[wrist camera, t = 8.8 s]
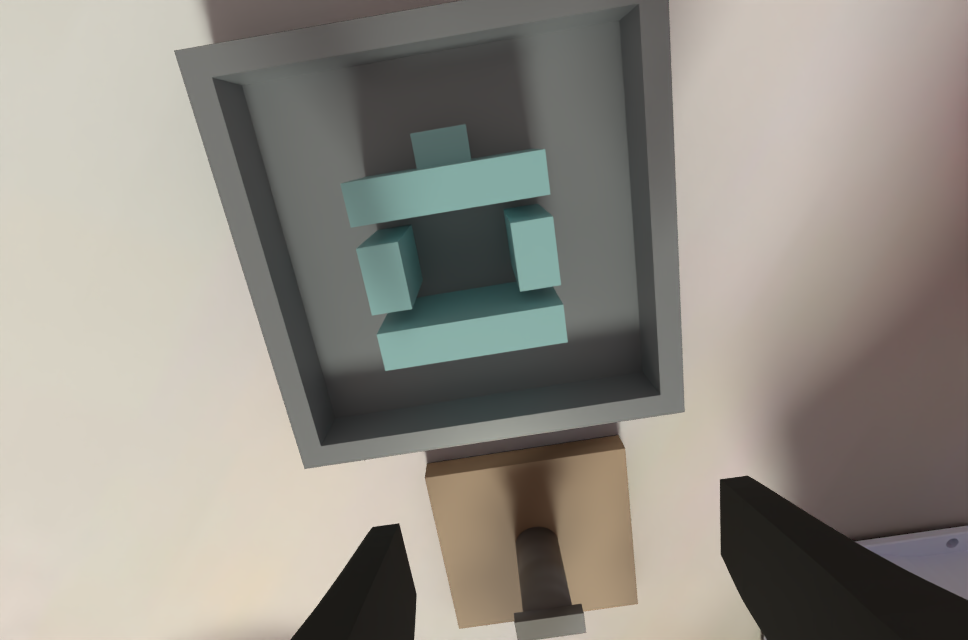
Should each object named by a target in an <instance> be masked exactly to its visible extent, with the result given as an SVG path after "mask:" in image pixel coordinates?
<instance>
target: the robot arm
mask: <svg viewBox="0 0 968 640" xmlns="http://www.w3.org/2000/svg"><path fill="white" fill-rule="evenodd" d="M720 524H721V556H722V558H723V560H724V562H725V564H726V566H727V569H728V571H729V573H730V575H731V577H732V579H733V582H734V584H735V586H736V588H737V590H738V592H739V594H740V596H741V598H742V600H743V602H744V603H745V605H746V607H747V608H748V610H749V612H750V613H751V615H752V616H753V618H754V620H755V621H756V623H757V625H758V626H759V628H760V629H761V631H762V633H763V634H764V640H968V526H961V527H954V528H947V529H940V530H933V531H926V532H919V533H911V534H904V535H897V536H890V537H883V538H876V539H869V540H862V541H853V540H851V539H849V538H848V537H846V536H844V535H843V534H841V533H839V532H838V531H836V530H834V529H833V528H831V527H829V526H828V525H826V524H824V523H823V522H821V521H820V520H818V519H816V518H815V517H813V516H811V515H810V514H808V513H807V512H805V511H803V510H802V509H800V508H799V507H797V506H796V505H794V504H792V503H791V502H789V501H788V500H786V499H785V498H783V497H781V496H780V495H778V494H777V493H775V492H774V491H772V490H770V489H769V488H767V487H766V486H764V485H762V484H761V483H759V482H758V481H756V480H754V479H753V478H751V477H749V476H742V477H735V478H727V479H720ZM415 615H416V590H415V586H414V582H413V578H412V574H411V570H410V566H409V562H408V558H407V554H406V550H405V545H404V541H403V537H402V533H401V529H400V525H399V524H392V525H384V526H377V527H372V529H371V530H370V531H369V532H368V534H367V535H366V537H365V538H364V540H363V541H362V543H361V544H360V546H359V547H358V549H357V550H356V552H355V553H354V554H353V556H352V557H351V559H350V560H349V562H348V563H347V565H346V566H345V568H344V569H343V571H342V572H341V573H340V575H339V576H338V578H337V579H336V581H335V582H334V583H333V585H332V586H331V587H330V589H329V590H328V592H327V593H326V594H325V596H324V597H323V598H322V600H321V601H320V603H319V604H318V605H317V607H316V608H315V609H314V611H313V612H312V613H311V615H310V616H309V617H308V618H307V620H306V621H305V622H304V623H303V625H302V626H301V627H300V628H299V630H298V631H297V632H296V633H295V635H294V636H293V637H292V638H291V640H414V632H415Z"/></svg>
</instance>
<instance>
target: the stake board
mask: <svg viewBox="0 0 968 640" xmlns="http://www.w3.org/2000/svg"><path fill="white" fill-rule="evenodd" d="M425 480H426V485H427V489H428V494H429V498H430V502H431V507H432V511H433V516H434V520H435V524H436V529H437V533H438V538H439V542H440V546H441V551H442V555H443V559H444V564H445V568H446V573H447V577H448V581H449V586H450V590H451V595H452V599H453V603H454V608H455V612H456V617H457V621H458V625H459V629H461V628H469V627H476V626H483V625H490V624H497V623H504V622H512V621H514V622H515V628H516V633H517V639H518V640H538V639H545V638H552V637H559V636H567V635H574V634H581V633H586V628H585V620H584V612H583V611H591V610H598V609H605V608H612V607H619V606H627V605H634V604H638V600H637V588H636V576H635V564H634V551H633V539H632V527H631V515H630V503H629V490H628V478H627V466H626V454H625V447H624V445H623V443H622V441H621V439H620V438H619V436H618V435H616V436H609V437H602V438H596V439H589V440H582V441H576V442H569V443H562V444H555V445H549V446H542V447H535V448H528V449H522V450H515V451H508V452H502V453H495V454H488V455H481V456H475V457H468V458H461V459H455V460H448V461H441V462H434V463H428V464H427V467H426V474H425Z"/></svg>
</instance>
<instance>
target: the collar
mask: <svg viewBox="0 0 968 640" xmlns="http://www.w3.org/2000/svg"><path fill="white" fill-rule="evenodd" d="M410 136H411V141H412V146H413V151H414V156H415V161H416V167H417V168H415V169H409V170H403V171H397V172H391V173H385V174H379V175H373V176H367V177H363V178H359V179H356V180H352V181H348V182H345V183H341V184H340V185H341V189H342V193H343V197H344V202H345V206H346V210H347V214H348V218H349V222H350V226H351V228H352V227H358V226H364V225H370V224H376V223H382V222H388V221H394V220H400V219H406V218H412V217H418V216H424V215H430V214H436V213H442V212H448V211H454V210H460V209H466V208H472V207H478V206H484V205H490V204H496V203H502V202H508V201H514V200H520V199H526V198H532V197H539V196H545V195H550V186H549V178H548V169H547V161H546V152H545V149H527V150H521V151H515V152H509V153H503V154H497V155H492V156H486V157H480V158H474V159H471V153H470V147H469V141H468V135H467V129H466V124H464V125H458V126H452V127H446V128H440V129H434V130H429V131H423V132H417V133H411V134H410ZM503 211H504V217H505V224H506V231H507V238H508V245H509V251H510V258H511V265H512V268H513V271H514V274H515V277H516V280H517V282H510V283H504V284H498V285H492V286H486V287H480V288H473V289H467V290H461V291H455V292H449V293H442V294H436V295H430V296H424V297H418V298H416V297H417V295H418V292H419V289H420V287H421V284H422V281H423V278H422V273H421V268H420V263H419V258H418V253H417V249H416V244H415V239H414V234H413V229H412V224H411V225H405V226H399V227H393V228H387V229H381V230H377V231H376V232H375V233H374V234H372V235H371V236H370V237H369V238H368V239H367V240H366V241H364V242H363V243H362V244H361V245H360V246H359V247H357V248H356V251H357V255H358V260H359V264H360V268H361V272H362V276H363V280H364V284H365V289H366V293H367V297H368V301H369V305H370V309H371V313H372V315H378V314H385V313H387V315H386V317H385V319H384V321H383V323H382V325H381V327H380V329H379V331H378V333H377V338H378V342H379V346H380V351H381V355H382V359H383V363H384V367H385V371H389V370H395V369H401V368H408V367H414V366H420V365H427V364H433V363H439V362H446V361H452V360H458V359H465V358H471V357H478V356H484V355H490V354H497V353H503V352H509V351H516V350H522V349H528V348H535V347H541V346H547V345H554V344H560V343H566V342H568V340H567V331H566V323H565V314H564V306H563V303H562V301H561V300H560V298H559V296H558V294H557V293H556V291H555V289H554V288H553V286H559V285H561V280H560V271H559V263H558V254H557V246H556V237H555V229H554V220H553V216H552V215H551V214H550V213H549V212H547V211H546V210H545V209H544V208H543V207H541V206H540V205H539V204H532V205H526V206H520V207H514V208H508V209H503Z"/></svg>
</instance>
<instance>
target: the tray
mask: <svg viewBox="0 0 968 640" xmlns="http://www.w3.org/2000/svg"><path fill="white" fill-rule="evenodd" d="M174 52H175V55H176V58H177V61H178V64H179V68H180V71H181V74H182V77H183V80H184V84H185V87H186V90H187V93H188V97H189V100H190V103H191V106H192V109H193V113H194V116H195V119H196V122H197V125H198V129H199V132H200V135H201V138H202V141H203V145H204V148H205V151H206V154H207V157H208V161H209V164H210V167H211V170H212V173H213V177H214V180H215V183H216V186H217V189H218V193H219V196H220V199H221V202H222V205H223V209H224V212H225V215H226V218H227V221H228V225H229V228H230V231H231V234H232V237H233V241H234V244H235V247H236V250H237V254H238V257H239V260H240V263H241V266H242V270H243V273H244V276H245V279H246V282H247V286H248V289H249V292H250V295H251V298H252V302H253V305H254V308H255V311H256V314H257V318H258V321H259V324H260V327H261V330H262V334H263V337H264V340H265V343H266V346H267V350H268V353H269V356H270V359H271V362H272V366H273V369H274V372H275V375H276V378H277V382H278V385H279V388H280V391H281V394H282V398H283V401H284V404H285V407H286V410H287V414H288V417H289V420H290V423H291V427H292V430H293V433H294V436H295V439H296V443H297V446H298V449H299V452H300V455H301V459H302V462H303V465H304V468H305V469H307V468H314V467H321V466H327V465H334V464H341V463H347V462H354V461H361V460H367V459H374V458H381V457H387V456H394V455H401V454H407V453H414V452H421V451H427V450H434V449H441V448H448V447H454V446H461V445H468V444H474V443H481V442H488V441H494V440H501V439H508V438H514V437H521V436H528V435H534V434H541V433H548V432H555V431H561V430H568V429H575V428H581V427H588V426H595V425H601V424H608V423H615V422H621V421H628V420H635V419H641V418H648V417H655V416H661V415H668V414H675V413H682V412H685V409H684V384H683V358H682V333H681V307H680V281H679V256H678V230H677V204H676V179H675V153H674V127H673V102H672V76H671V51H670V25H669V0H462V1H456V2H450V3H444V4H439V5H433V6H427V7H421V8H416V9H410V10H404V11H399V12H393V13H387V14H381V15H376V16H370V17H364V18H359V19H353V20H347V21H341V22H336V23H330V24H324V25H318V26H313V27H307V28H301V29H296V30H290V31H284V32H278V33H273V34H267V35H261V36H255V37H250V38H244V39H238V40H233V41H227V42H221V43H215V44H210V45H204V46H198V47H193V48H187V49H181V50H175V51H174ZM464 124H466V129H467V135H468V141H469V147H470V153H471V159H474V158H480V157H486V156H492V155H497V154H503V153H509V152H515V151H521V150H527V149H545V152H546V161H547V169H548V178H549V186H550V195H545V196H539V197H532V198H526V199H520V200H514V201H508V202H502V203H496V204H490V205H484V206H478V207H472V208H466V209H460V210H454V211H448V212H442V213H436V214H430V215H424V216H418V217H412V218H406V219H400V220H394V221H388V222H382V223H376V224H370V225H364V226H358V227H352V228H351V226H350V222H349V218H348V214H347V210H346V206H345V202H344V197H343V193H342V189H341V185H340V184H341V183H345V182H348V181H352V180H356V179H359V178H363V177H367V176H373V175H379V174H385V173H391V172H397V171H403V170H409V169H415V168H417V167H416V161H415V156H414V151H413V146H412V141H411V136H410V134H411V133H417V132H423V131H429V130H434V129H440V128H446V127H452V126H458V125H464ZM532 204H539V205H540V206H541V207H543V208H544V209H545V210H546V211H547V212H549V213H550V214H551V215H552V216H553V220H554V229H555V237H556V246H557V254H558V263H559V271H560V280H561V285H559V286H553V288H554V289H555V291H556V293H557V294H558V296H559V298H560V300H561V301H562V303H563V306H564V314H565V323H566V331H567V340H568V342H566V343H560V344H554V345H547V346H541V347H535V348H528V349H522V350H516V351H509V352H503V353H497V354H490V355H484V356H478V357H471V358H465V359H458V360H452V361H446V362H439V363H433V364H427V365H420V366H414V367H408V368H401V369H395V370H389V371H385V367H384V363H383V359H382V355H381V351H380V346H379V342H378V338H377V333H378V331H379V329H380V327H381V325H382V323H383V321H384V319H385V317H386V315H387V313H385V314H378V315H372V313H371V309H370V305H369V301H368V297H367V293H366V289H365V284H364V280H363V276H362V272H361V268H360V264H359V260H358V255H357V251H356V248H357V247H359V246H360V245H361V244H362V243H363V242H364V241H366V240H367V239H368V238H369V237H370V236H371V235H372V234H374V233H375V232H376V231H377V230H381V229H387V228H393V227H399V226H405V225H411V224H412V229H413V234H414V239H415V244H416V249H417V253H418V258H419V263H420V268H421V273H422V278H423V281H422V284H421V287H420V289H419V292H418V295H417V297H416V298H418V297H424V296H430V295H436V294H442V293H449V292H455V291H461V290H467V289H473V288H480V287H486V286H492V285H498V284H504V283H510V282H517V280H516V277H515V274H514V271H513V268H512V265H511V258H510V251H509V245H508V238H507V231H506V224H505V217H504V211H503V209H508V208H514V207H520V206H526V205H532Z"/></svg>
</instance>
